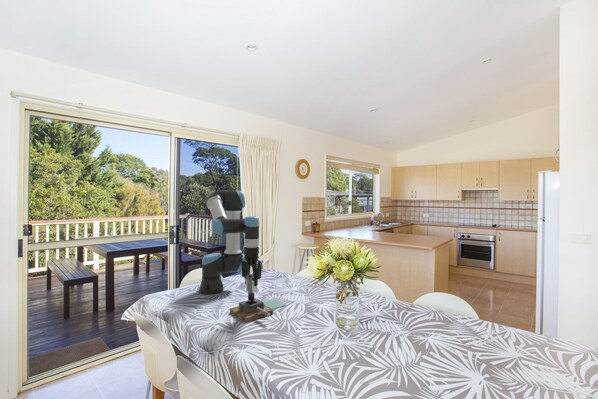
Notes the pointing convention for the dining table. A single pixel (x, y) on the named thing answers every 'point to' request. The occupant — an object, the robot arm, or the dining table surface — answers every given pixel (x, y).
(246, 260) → the robot arm
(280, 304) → the mat
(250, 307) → the block
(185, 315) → the dining table surface
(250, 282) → the key
